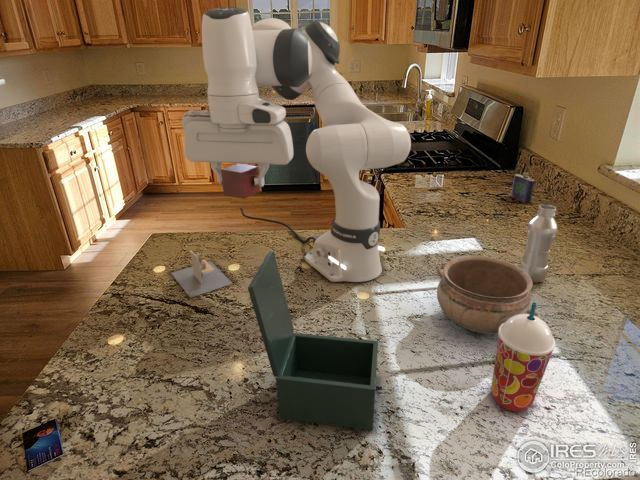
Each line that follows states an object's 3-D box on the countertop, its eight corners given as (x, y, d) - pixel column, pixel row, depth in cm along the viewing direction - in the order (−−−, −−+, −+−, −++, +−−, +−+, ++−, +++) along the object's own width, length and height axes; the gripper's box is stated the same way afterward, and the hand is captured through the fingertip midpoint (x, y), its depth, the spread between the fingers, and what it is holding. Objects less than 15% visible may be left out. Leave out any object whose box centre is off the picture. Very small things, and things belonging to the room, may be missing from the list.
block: (223, 195, 81) (220, 169, 79) (239, 187, 85) (237, 163, 83) (244, 199, 79) (242, 172, 77) (260, 191, 83) (258, 166, 81)
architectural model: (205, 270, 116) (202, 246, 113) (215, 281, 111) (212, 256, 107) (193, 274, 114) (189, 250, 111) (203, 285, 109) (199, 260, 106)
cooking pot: (406, 310, 98) (410, 263, 93) (460, 285, 108) (467, 242, 103) (501, 373, 80) (513, 320, 74) (556, 336, 89) (570, 287, 84)
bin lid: (273, 250, 70) (269, 250, 71) (252, 287, 60) (247, 287, 60) (294, 330, 77) (289, 330, 77) (278, 376, 67) (273, 376, 67)
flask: (508, 196, 166) (513, 169, 162) (514, 195, 167) (520, 169, 162) (526, 204, 158) (532, 176, 154) (532, 203, 159) (539, 175, 155)
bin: (376, 378, 79) (378, 340, 75) (372, 430, 68) (375, 389, 65) (293, 369, 81) (292, 332, 77) (278, 418, 71) (275, 378, 67)
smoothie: (494, 375, 79) (515, 283, 71) (542, 396, 75) (570, 300, 66) (478, 402, 74) (497, 306, 65) (528, 427, 69) (557, 327, 60)
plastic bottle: (548, 286, 107) (567, 213, 98) (519, 284, 108) (536, 211, 99) (541, 274, 112) (559, 203, 104) (514, 271, 114) (529, 201, 105)
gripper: (172, 112, 74) (184, 187, 80) (285, 114, 71) (289, 192, 77) (188, 107, 80) (198, 178, 86) (294, 108, 77) (296, 182, 83)
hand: (242, 185), depth 81 cm, fingers closed on block, 6 cm apart
